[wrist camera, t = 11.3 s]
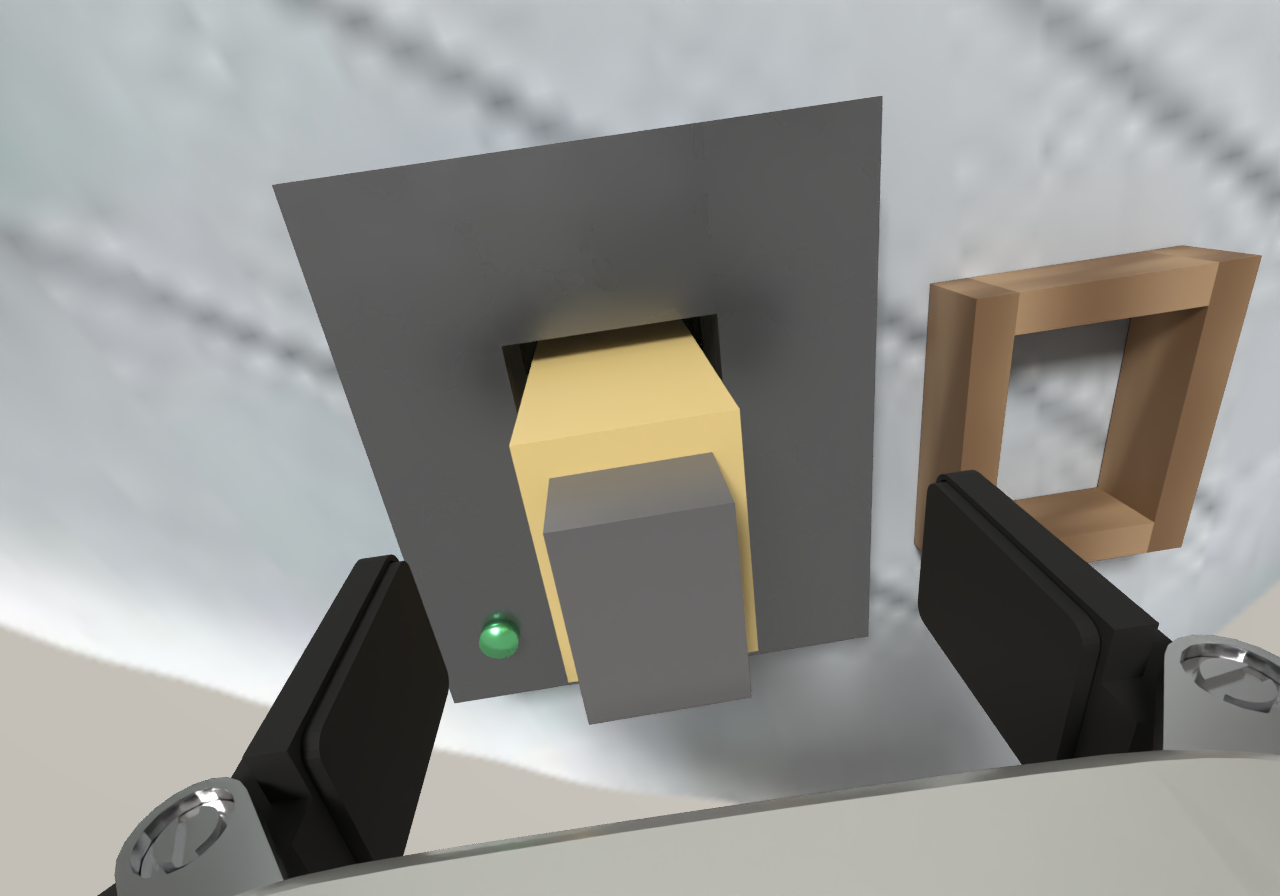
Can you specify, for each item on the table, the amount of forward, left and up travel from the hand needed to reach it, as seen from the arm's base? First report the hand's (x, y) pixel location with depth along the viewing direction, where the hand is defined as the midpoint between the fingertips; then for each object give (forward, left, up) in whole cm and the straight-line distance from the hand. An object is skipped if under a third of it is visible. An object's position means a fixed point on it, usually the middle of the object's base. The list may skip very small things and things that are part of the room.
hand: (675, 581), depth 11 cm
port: (0, +1, -10) cm, 10 cm away
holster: (-14, +3, -10) cm, 17 cm away
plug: (0, +1, -10) cm, 10 cm away
